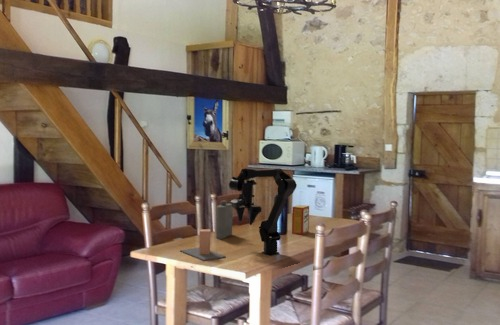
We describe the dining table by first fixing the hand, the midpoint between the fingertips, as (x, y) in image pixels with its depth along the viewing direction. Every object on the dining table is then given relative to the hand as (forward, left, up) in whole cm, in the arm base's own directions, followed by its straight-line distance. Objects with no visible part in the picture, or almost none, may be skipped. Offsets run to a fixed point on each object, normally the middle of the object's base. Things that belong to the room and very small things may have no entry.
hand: (245, 222), depth 271 cm
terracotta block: (-1, +24, -12) cm, 27 cm away
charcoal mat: (-1, +26, -13) cm, 29 cm away
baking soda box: (+14, -50, -13) cm, 54 cm away
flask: (+29, -6, -13) cm, 33 cm away
